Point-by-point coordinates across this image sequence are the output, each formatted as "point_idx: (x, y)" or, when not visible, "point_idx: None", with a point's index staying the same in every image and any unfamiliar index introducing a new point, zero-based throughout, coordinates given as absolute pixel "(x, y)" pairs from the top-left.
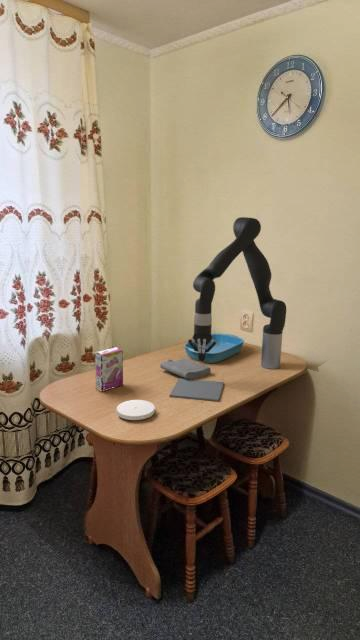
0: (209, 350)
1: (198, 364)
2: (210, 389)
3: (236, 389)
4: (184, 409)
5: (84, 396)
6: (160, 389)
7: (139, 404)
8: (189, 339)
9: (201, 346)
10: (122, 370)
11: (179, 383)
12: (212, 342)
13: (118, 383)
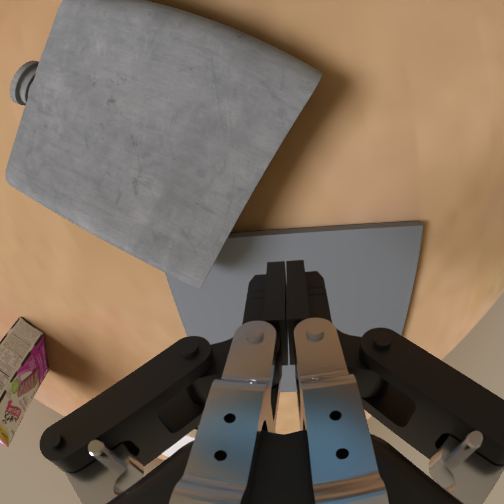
0: (393, 396)
1: (205, 51)
2: (358, 327)
3: (466, 269)
4: (285, 424)
5: (47, 385)
6: (149, 346)
7: (178, 442)
8: (72, 477)
9: (269, 409)
10: (20, 369)
11: (192, 306)
12: (457, 473)
13: (40, 350)
